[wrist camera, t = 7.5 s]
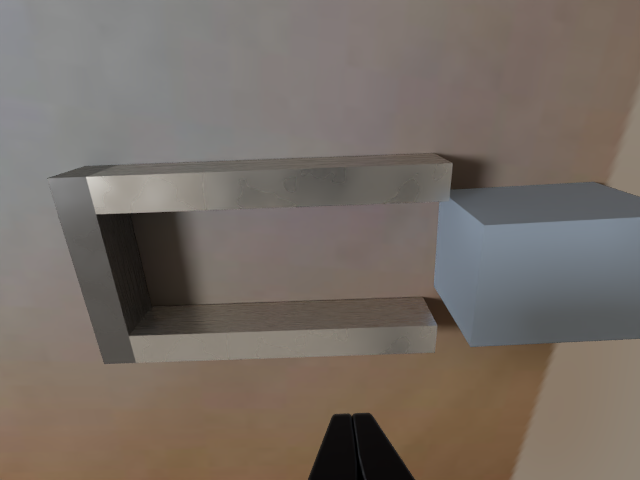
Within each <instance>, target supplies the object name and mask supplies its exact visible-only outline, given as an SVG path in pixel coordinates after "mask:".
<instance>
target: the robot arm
mask: <svg viewBox="0 0 640 480" xmlns="http://www.w3.org/2000/svg"><path fill="white" fill-rule="evenodd" d="M308 480H415V479H414V477H413V476H412V474H411V473H410V471H409V470H408V468H407V467H406V465H405V464H404V462H403V461H402V459H401V458H400V456H399V455H398V453H397V452H396V450H395V449H394V447H393V446H392V444H391V443H390V441H389V440H388V438H387V437H386V435H385V434H384V432H383V431H382V429H381V428H380V426H379V425H378V423H377V422H376V420H375V419H374V417H373V416H372V415H371V414H370V413H355V414H353V415H352V416H351V415H350V414H334V415H333V416H332V418H331V420H330V423H329V426H328V428H327V431H326V434H325V436H324V439H323V441H322V444H321V447H320V449H319V452H318V454H317V457H316V460H315V462H314V465H313V468H312V470H311V473H310V475H309V478H308Z"/></svg>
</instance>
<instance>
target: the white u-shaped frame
mask: <svg viewBox="0 0 640 480" xmlns="http://www.w3.org/2000/svg"><path fill="white" fill-rule="evenodd" d="M452 166H453V163H452V162H450V161H448V160H446V159H444V158H442V157H440V156H438V155H436V154H434V153H423V154H396V155H370V156H343V157H317V158H290V159H263V160H237V161H210V162H183V163H157V164H130V165H103V166H84V167H81V168H77V169H74V170H71V171H68V172H65V173H62V174H59V175H56V176H53V177H49V178H47V181H48V184H49V187H50V190H51V194H52V197H53V200H54V203H55V207H56V210H57V213H58V216H59V219H60V223H61V226H62V229H63V232H64V236H65V239H66V242H67V245H68V249H69V252H70V255H71V258H72V261H73V265H74V268H75V271H76V274H77V278H78V281H79V284H80V287H81V291H82V294H83V297H84V300H85V303H86V307H87V310H88V313H89V316H90V320H91V323H92V326H93V329H94V333H95V336H96V339H97V342H98V345H99V349H100V352H101V355H102V358H103V362H104V364H115V363H144V362H173V361H202V360H232V359H261V358H290V357H319V356H349V355H378V354H407V353H435V345H436V335H437V324H436V322H435V320H434V318H433V316H432V314H431V312H430V310H429V308H428V306H427V304H426V302H425V300H424V298H423V297H412V298H384V299H356V300H327V301H299V302H270V303H242V304H213V305H185V306H156V307H151V302H150V298H149V294H148V290H147V285H146V281H145V277H144V273H143V268H142V264H141V260H140V256H139V251H138V247H137V243H136V239H135V234H134V230H133V226H132V222H131V217H130V213H146V212H173V211H200V210H228V209H255V208H282V207H309V206H337V205H364V204H391V203H418V202H446V201H449V198H450V187H451V177H452Z"/></svg>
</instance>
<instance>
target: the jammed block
mask: <svg viewBox="0 0 640 480" xmlns="http://www.w3.org/2000/svg"><path fill="white" fill-rule="evenodd" d="M434 287H435V289H436V290H437V292H438V294H439V295H440V297H441V299H442V300H443V302H444V304H445V305H446V307H447V309H448V310H449V312H450V314H451V315H452V317H453V319H454V320H455V322H456V324H457V325H458V327H459V329H460V330H461V332H462V334H463V335H464V337H465V339H466V340H467V342H468V344H469V345H470V347H478V346H499V345H520V344H540V343H561V342H580V341H601V340H623V339H640V197H639V196H636V195H632V194H629V193H626V192H623V191H620V190H617V189H614V188H611V187H608V186H605V185H602V184H599V183H596V182H583V183H565V184H546V185H528V186H509V187H491V188H473V189H454V190H450V198H449V201H446V202H440V203H439V218H438V233H437V248H436V263H435V278H434Z"/></svg>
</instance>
